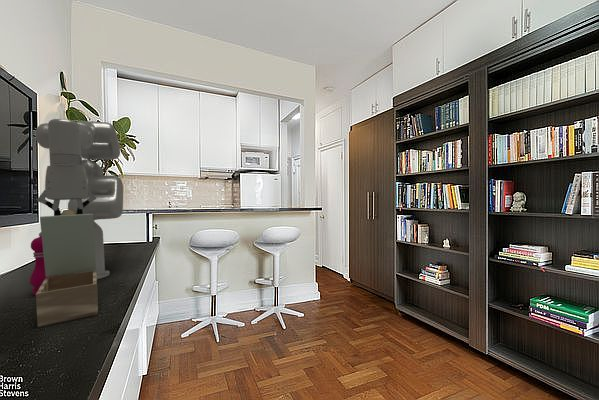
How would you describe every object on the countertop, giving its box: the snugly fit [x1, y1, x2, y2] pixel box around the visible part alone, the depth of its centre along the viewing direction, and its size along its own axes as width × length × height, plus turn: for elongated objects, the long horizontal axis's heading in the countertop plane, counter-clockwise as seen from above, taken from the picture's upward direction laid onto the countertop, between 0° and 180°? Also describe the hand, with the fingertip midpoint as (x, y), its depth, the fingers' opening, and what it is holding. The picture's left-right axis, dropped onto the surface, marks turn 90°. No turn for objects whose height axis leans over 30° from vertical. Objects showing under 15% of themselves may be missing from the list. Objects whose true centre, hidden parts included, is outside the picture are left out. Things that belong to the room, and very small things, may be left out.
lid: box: [39, 209, 96, 277], centre depth 90 cm, size 18×12×6 cm
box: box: [35, 270, 99, 328], centre depth 82 cm, size 18×12×8 cm, turn 35°
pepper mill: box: [29, 232, 60, 297], centre depth 98 cm, size 7×7×20 cm
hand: (69, 222), depth 90 cm, fingers closed on lid, 4 cm apart
